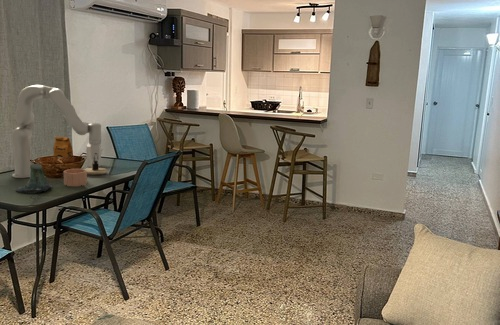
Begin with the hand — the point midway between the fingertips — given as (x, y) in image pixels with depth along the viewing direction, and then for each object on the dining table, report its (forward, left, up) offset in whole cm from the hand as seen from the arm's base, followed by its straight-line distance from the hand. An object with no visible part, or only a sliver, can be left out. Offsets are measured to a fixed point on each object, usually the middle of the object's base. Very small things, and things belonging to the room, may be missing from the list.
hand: (95, 168), depth 293 cm
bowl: (+20, -13, -4) cm, 25 cm away
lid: (0, 0, -2) cm, 2 cm away
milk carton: (-28, +2, -5) cm, 28 cm away
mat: (0, +1, -4) cm, 5 cm away
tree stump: (+29, -36, -5) cm, 47 cm away
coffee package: (-28, -18, -5) cm, 34 cm away
